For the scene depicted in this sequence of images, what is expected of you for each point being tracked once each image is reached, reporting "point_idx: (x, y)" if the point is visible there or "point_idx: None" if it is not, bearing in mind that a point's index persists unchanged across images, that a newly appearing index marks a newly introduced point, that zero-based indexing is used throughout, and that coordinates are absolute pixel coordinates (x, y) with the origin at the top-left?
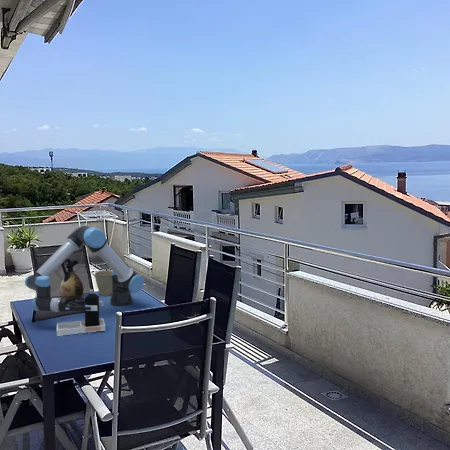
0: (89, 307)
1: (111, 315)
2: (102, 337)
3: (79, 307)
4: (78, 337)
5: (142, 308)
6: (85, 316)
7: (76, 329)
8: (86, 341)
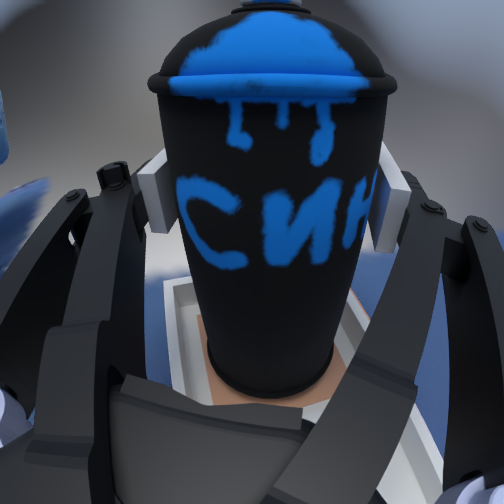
0: (409, 176)
1: None
2: None
3: (499, 244)
4: (441, 396)
5: (35, 208)
6: (325, 331)
7: (416, 418)
8: None
